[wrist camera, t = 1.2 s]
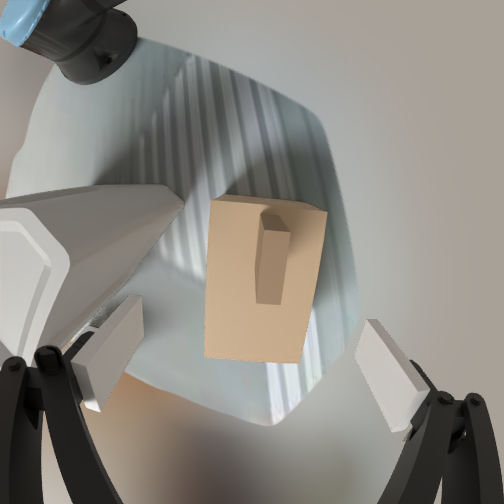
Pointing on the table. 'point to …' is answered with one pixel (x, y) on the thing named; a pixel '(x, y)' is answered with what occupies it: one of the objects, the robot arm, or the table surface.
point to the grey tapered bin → (72, 257)
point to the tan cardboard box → (260, 280)
